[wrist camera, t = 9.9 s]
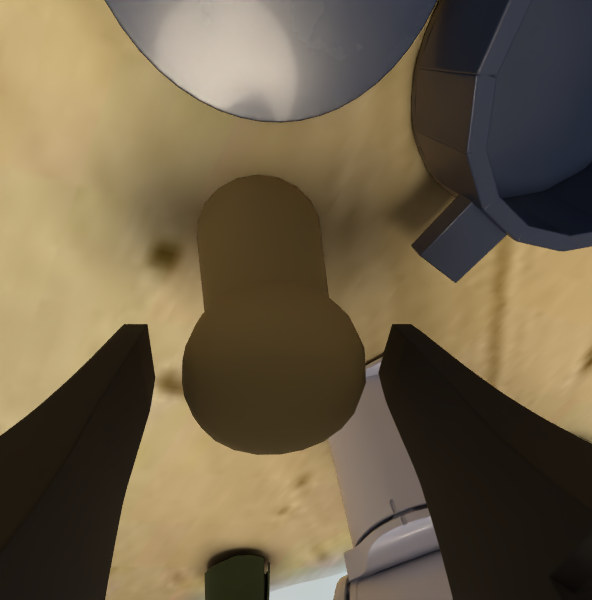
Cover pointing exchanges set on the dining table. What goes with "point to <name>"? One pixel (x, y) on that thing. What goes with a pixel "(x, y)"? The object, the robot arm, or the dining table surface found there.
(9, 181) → the dining table surface
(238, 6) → the lid
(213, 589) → the character mug
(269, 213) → the cork
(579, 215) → the pot
